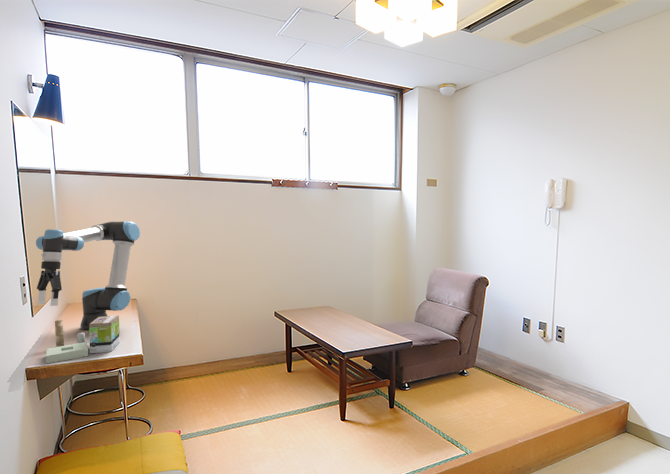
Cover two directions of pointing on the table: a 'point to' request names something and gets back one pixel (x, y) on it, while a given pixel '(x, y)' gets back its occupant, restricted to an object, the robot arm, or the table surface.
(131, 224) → the robot arm
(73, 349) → the hole plate
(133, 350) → the table surface
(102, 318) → the tea box
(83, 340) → the short rod
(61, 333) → the long dowel
